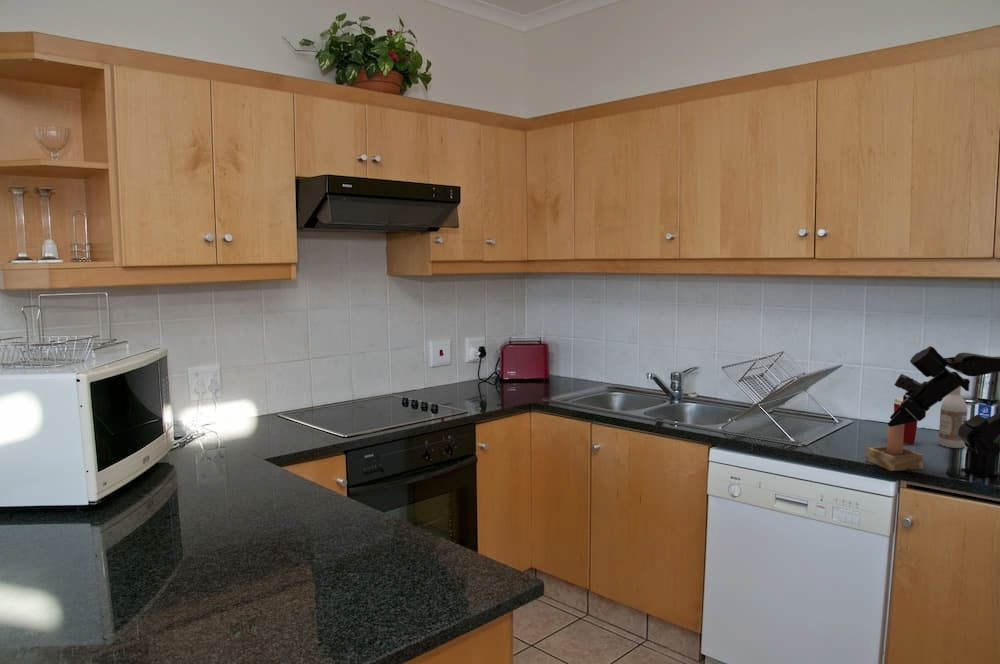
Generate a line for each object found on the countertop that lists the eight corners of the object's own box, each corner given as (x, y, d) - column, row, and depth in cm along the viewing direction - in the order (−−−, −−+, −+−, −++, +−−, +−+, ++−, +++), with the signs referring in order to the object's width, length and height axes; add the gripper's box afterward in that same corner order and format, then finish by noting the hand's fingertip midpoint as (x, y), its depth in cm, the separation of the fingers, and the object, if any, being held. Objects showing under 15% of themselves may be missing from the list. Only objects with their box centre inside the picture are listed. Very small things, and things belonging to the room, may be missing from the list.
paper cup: (920, 441, 226) (923, 398, 224) (915, 446, 220) (917, 402, 218) (893, 437, 231) (895, 395, 229) (887, 442, 225) (889, 399, 224)
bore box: (922, 468, 198) (923, 454, 198) (891, 471, 196) (892, 457, 196) (895, 458, 208) (896, 445, 207) (865, 460, 206) (866, 447, 205)
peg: (905, 466, 200) (907, 425, 199) (892, 467, 200) (895, 425, 198) (894, 462, 204) (897, 421, 203) (882, 463, 203) (884, 422, 202)
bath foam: (933, 443, 223) (937, 381, 221) (949, 441, 225) (953, 380, 223) (953, 449, 217) (957, 385, 214) (970, 447, 219) (974, 384, 216)
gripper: (916, 361, 204) (871, 394, 211) (913, 370, 189) (865, 406, 196) (946, 391, 201) (900, 423, 208) (946, 402, 185) (895, 437, 193)
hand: (889, 422), depth 201 cm, fingers open, 9 cm apart
